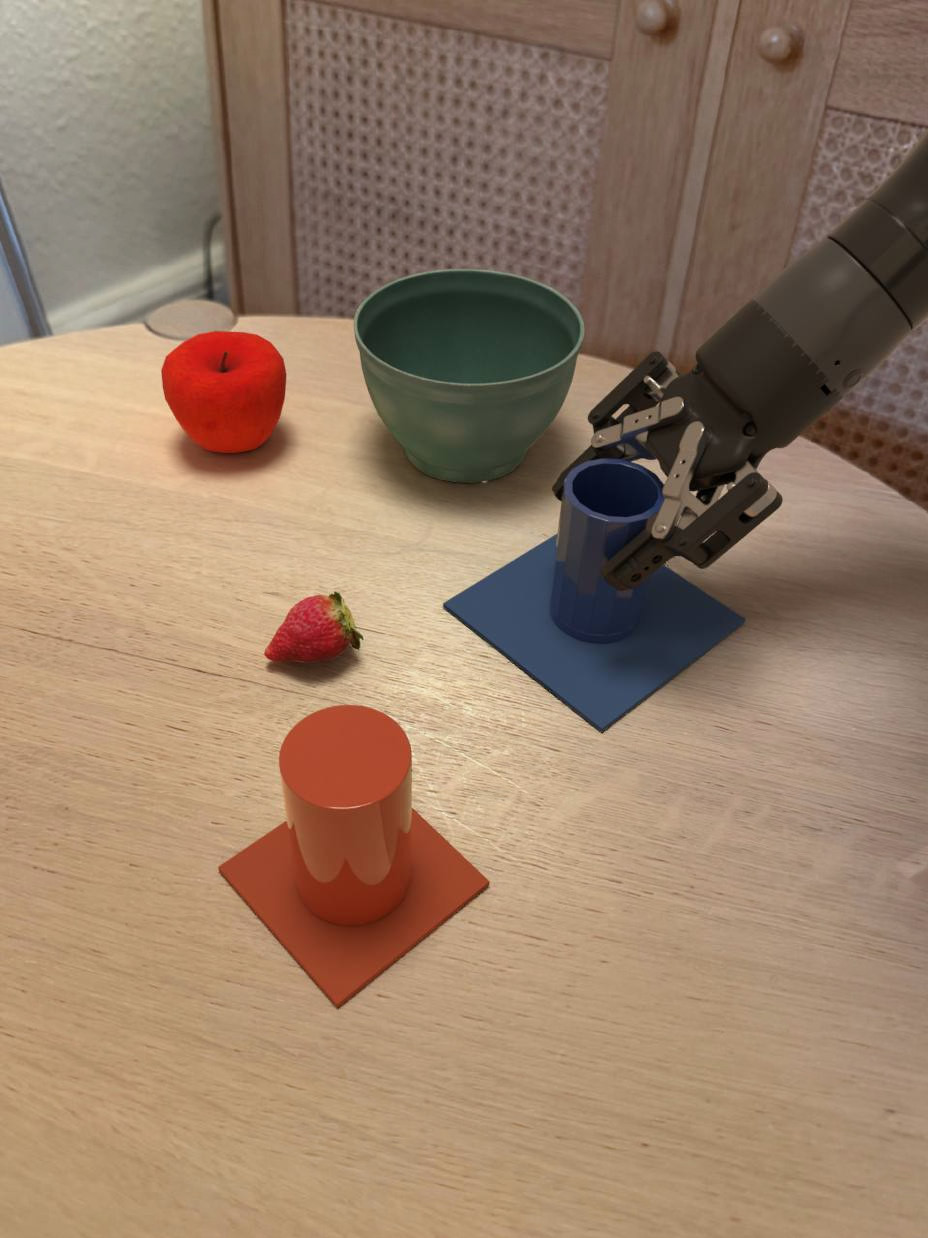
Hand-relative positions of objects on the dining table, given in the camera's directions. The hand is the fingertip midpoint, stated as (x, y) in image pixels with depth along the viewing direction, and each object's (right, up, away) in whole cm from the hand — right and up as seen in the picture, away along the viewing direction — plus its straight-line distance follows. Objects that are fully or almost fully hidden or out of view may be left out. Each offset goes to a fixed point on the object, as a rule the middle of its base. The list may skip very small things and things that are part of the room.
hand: (585, 539), depth 66 cm
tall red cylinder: (-13, -18, -10) cm, 24 cm away
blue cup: (+1, -4, +5) cm, 7 cm away
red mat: (-13, -18, -9) cm, 24 cm away
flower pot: (-7, +8, +18) cm, 21 cm away
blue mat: (+1, -5, +5) cm, 7 cm away
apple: (-25, +9, +18) cm, 32 cm away
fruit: (-17, -7, +2) cm, 18 cm away
